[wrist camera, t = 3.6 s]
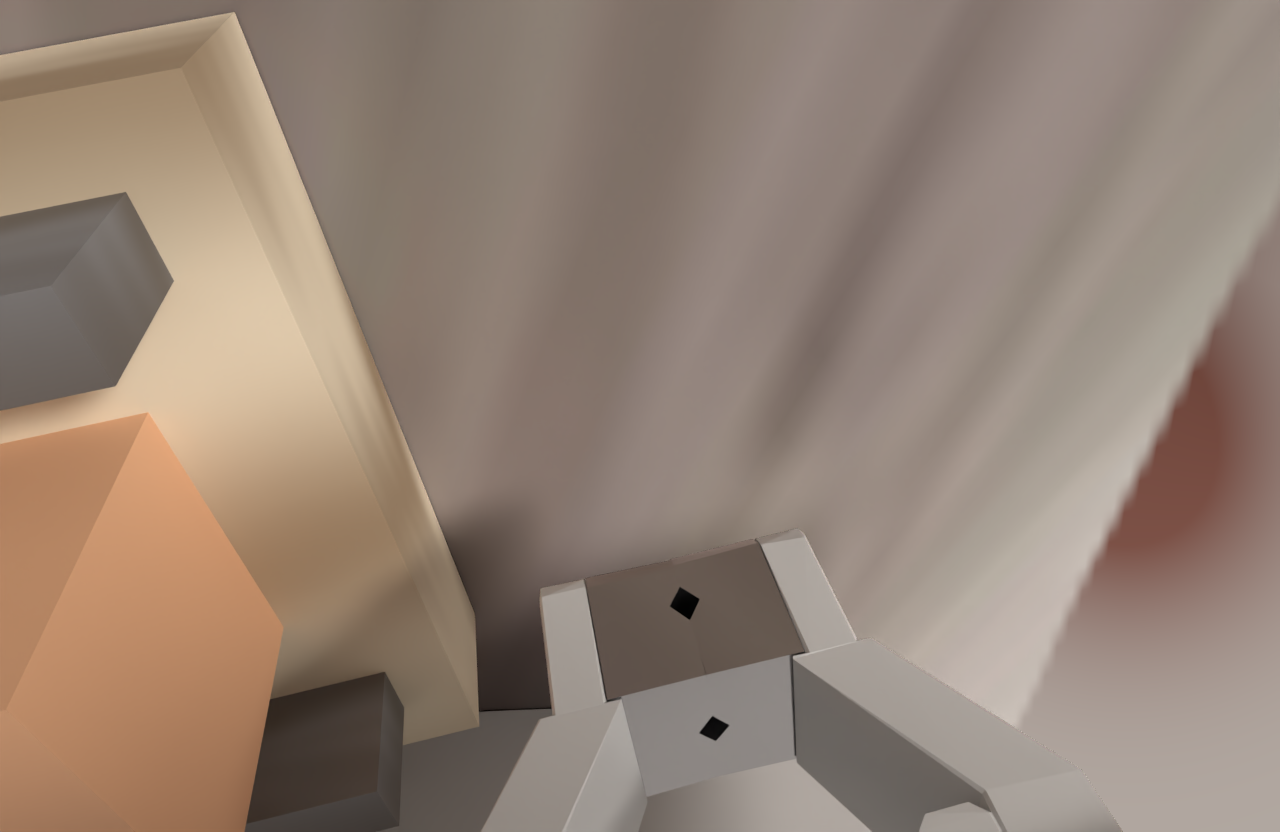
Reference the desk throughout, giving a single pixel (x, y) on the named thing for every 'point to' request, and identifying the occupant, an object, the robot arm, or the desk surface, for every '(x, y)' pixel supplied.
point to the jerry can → (673, 820)
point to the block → (124, 641)
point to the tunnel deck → (233, 388)
